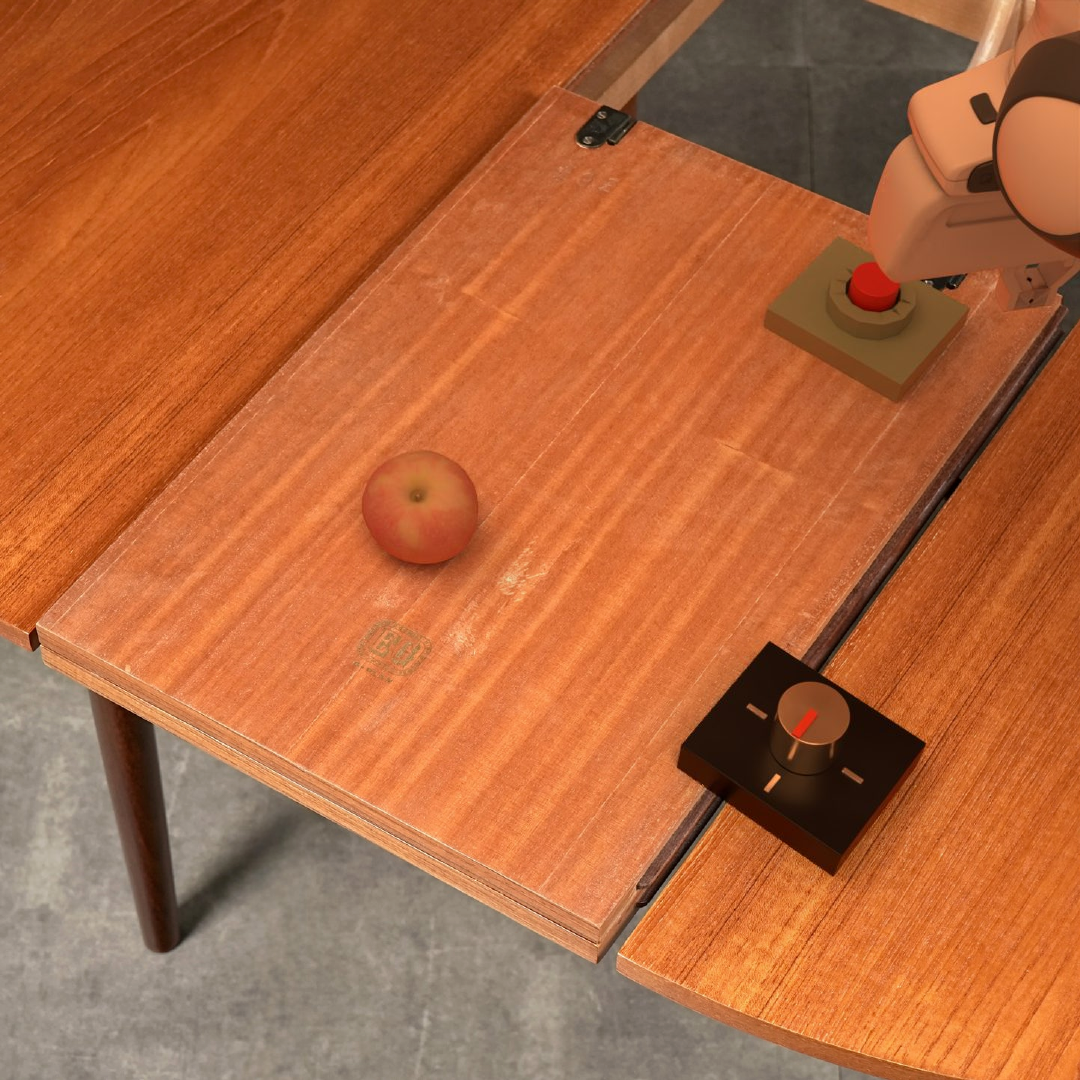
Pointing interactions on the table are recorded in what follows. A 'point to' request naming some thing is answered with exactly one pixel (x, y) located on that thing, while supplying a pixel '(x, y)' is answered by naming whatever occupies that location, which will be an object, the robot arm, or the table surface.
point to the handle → (809, 728)
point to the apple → (421, 507)
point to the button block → (865, 323)
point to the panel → (782, 795)
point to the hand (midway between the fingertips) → (1022, 301)
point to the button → (872, 288)
